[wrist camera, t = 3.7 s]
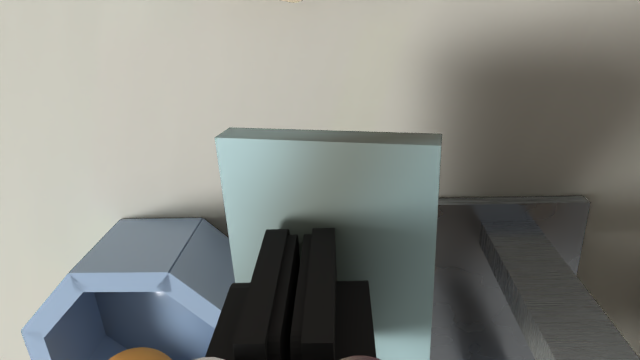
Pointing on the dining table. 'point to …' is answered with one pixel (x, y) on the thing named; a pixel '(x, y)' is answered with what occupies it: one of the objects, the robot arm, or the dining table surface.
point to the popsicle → (292, 0)
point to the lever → (344, 214)
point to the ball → (141, 354)
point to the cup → (138, 294)
